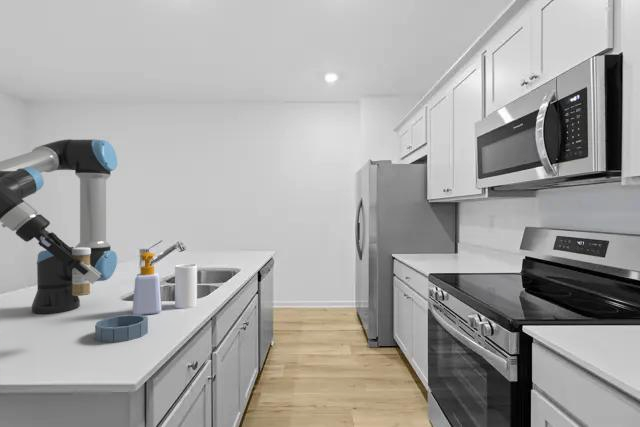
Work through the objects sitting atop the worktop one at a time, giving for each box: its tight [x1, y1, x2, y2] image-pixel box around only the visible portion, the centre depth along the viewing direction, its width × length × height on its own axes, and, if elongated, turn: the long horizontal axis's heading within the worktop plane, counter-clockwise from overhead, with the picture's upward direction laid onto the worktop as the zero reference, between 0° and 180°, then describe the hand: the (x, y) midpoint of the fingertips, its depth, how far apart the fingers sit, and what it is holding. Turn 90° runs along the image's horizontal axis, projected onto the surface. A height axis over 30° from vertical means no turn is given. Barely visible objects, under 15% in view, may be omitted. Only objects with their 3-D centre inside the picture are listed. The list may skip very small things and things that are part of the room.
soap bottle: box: [132, 251, 162, 316], centre depth 138 cm, size 10×14×22 cm
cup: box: [174, 263, 198, 309], centre depth 149 cm, size 8×8×16 cm
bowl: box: [94, 314, 149, 343], centre depth 115 cm, size 14×14×4 cm
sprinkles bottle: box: [72, 247, 91, 297], centre depth 108 cm, size 5×5×14 cm
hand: (96, 278), depth 110 cm, fingers closed on sprinkles bottle, 4 cm apart
